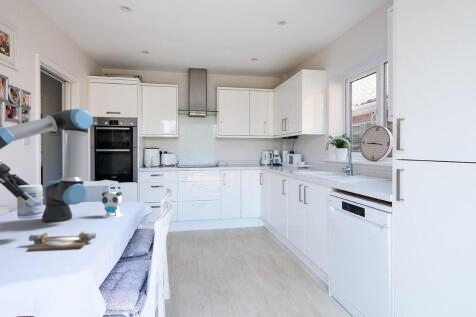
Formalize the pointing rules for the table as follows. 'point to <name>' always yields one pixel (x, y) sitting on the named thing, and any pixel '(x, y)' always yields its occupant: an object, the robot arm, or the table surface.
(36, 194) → the supplement tub
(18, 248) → the table surface
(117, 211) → the panda figurine
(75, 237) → the shaft board
